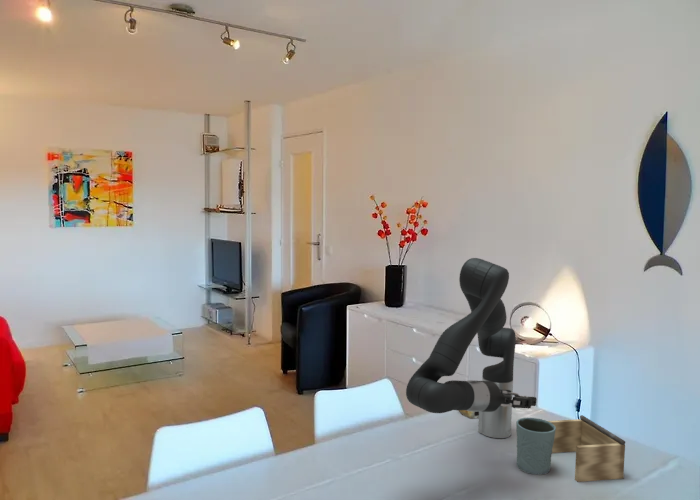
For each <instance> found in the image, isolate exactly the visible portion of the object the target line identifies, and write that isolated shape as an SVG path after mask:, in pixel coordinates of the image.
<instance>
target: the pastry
mask: <svg viewBox="0 0 700 500" xmlns="http://www.w3.org/2000/svg"><path fill="white" fill-rule="evenodd" d="M458 412H460V414H461V415H463V416H464V417H466V418H468V419H471V420H473V419H474V420H475V419H479V412H471V411H466V410H458Z"/></svg>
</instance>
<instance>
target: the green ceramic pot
mask: <svg viewBox="0 0 700 500" xmlns="http://www.w3.org/2000/svg"><path fill="white" fill-rule="evenodd" d="M548 421H549V420H546V419H543V418H537V417H523V418H519V419H517V421H516V423H515V424H516V425H515V426H516V427H515V428H516V467H517V468H518V470H520V471H521V472H525V473H527V474H531V475H539V476H540V475H546V474H548V473H549V472H550V470H551V465H552V454H553V453H552V448H553V443H554V437H555V430H556V427H555V426H554V425H553V424H552V423H551V422H548Z"/></svg>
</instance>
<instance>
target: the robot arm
mask: <svg viewBox="0 0 700 500" xmlns="http://www.w3.org/2000/svg"><path fill="white" fill-rule="evenodd" d="M509 279H510V272H509V270H508V269H507V268H505V267H503V266H501V265H498V264H496V263H493V262H490V261H488V260H485V259H483V258H478V257H471V258H469V259H467V260H466V261H465V262H464V263H463V265H462V267H461V269H460V272H459V279H458V280H459V287H460V289H461V291H462V294H463V295H464V297H465V299H466V301H467V303H468V306H469V309H470V311H471V312H470V313H468V314H467V315H466V316H464V317H463V318H461V319H459V320H458V321H456V322H454V323H453V324H452V325H450V326H448V327H447V328H446V329H445V330H444V331H443V332H442V333H441V335H440V336H439V338H438V340H437V341H436V343H435V345H434V347H433V349H432V351H431V352H430V354H429V357H428V358H427V359H426V360H424V361H423V363H422V364H421V365H420V367H419V368H418V369H416V371H415V372H414V373H413V374H412V375H411V377H410V378H409V380H408V383H407V385H406V389H405V393H406V394H405V396H406V399H407V401H408V402H409V403H410V404H411V405H413V406H415V407H417V408H420V409H422V410H424V411H426V412H428V413H432V414H443V413H449V412H451V411H459V410H466V411H471V412H479V417H478V425H477V426H478V427H477V429H478V431H477V432H478V434H479V433H480V434H482V435H484V436H486V437H489V438H492V439H493V438H494V439H505V438H509V437H510V436H511V434H512V416H513V415H512V414H513V409H527V410H529V409H532V407H535V406H537V397H536V396H527V395H520V394H519V393H517V392H513V389H514V363H515V353H516V341H517V340H516V337H517V336H516V332H515V329H513V328H510V327H505V326H506V323H507V318H508V317H507V311H506V306H505V303H504V301H503V299H502V297H503V296H504V293H505V292H506V289H507V287H508V284H509ZM476 335H477V341H478V347H479V351H480V352H481V354H482V355H484V356H486V357H492V358H501V359H503V360H502V361H500V362H499V363H498V362H497V363H495V364H492V365H488V366H485V367H484V368H483V369H482V377H481V378H482V380H473V379H470V380H453V379H452V380H448V381H445V382H444V383H443V382H438V381H439V380H440V379H441V378H443V377H452V376H453V375H455V373H456V372H457V370H458V368H459V366H460V364H461V362H462V361H463V359H464V357H465V354H466V352H467V350H468V348H469V346H470V345H471V343H472V341H473V340H474V339H475V337H476Z"/></svg>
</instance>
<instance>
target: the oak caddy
mask: <svg viewBox="0 0 700 500" xmlns="http://www.w3.org/2000/svg"><path fill="white" fill-rule="evenodd" d="M547 421H548V422H551V423H552V424H553V425H554V426H555V427H556V430H555V437H554V443H553V448H552V454H556V453H557V454H559V453H572V452H575V466H574V467H575V469H574V470H575V471H574V481H576V482H577V483H581V482H583V483H584V482H594V481H596V482H597V481H607V480H610V481H611V480H620V479H624V475H625V473H624V472H625V454H626V453H625V452H626V441H625V440H624V439H622V438H621V437H619V436H617V435H616V434H614V433H612V432H611V431H609V430H607V429H606V428H605V427H602V426H601V425H599V424H598V423H596V422H594V421H593V420H591V419H590V418H588V417H586V416H585V415H582V414H581V415H580V416H579V418H578V419H561V420H547Z"/></svg>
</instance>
